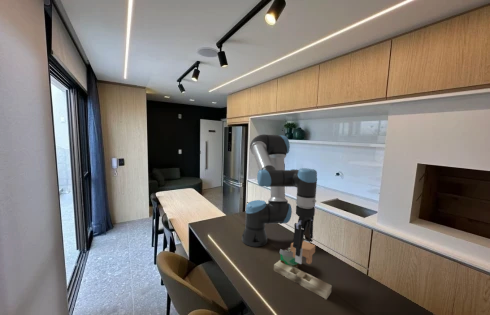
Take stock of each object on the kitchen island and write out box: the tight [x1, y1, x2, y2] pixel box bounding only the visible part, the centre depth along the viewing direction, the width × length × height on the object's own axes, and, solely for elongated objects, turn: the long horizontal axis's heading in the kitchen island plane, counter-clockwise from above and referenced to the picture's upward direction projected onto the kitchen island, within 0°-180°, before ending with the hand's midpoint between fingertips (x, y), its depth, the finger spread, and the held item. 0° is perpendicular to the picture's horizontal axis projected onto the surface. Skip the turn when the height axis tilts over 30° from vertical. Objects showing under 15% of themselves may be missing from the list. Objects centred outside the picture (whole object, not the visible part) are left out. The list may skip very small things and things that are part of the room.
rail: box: [273, 259, 333, 300], centre depth 86 cm, size 24×5×3 cm, turn 48°
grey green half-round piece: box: [278, 246, 300, 269], centre depth 95 cm, size 12×6×10 cm, turn 123°
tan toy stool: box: [290, 240, 316, 265], centre depth 85 cm, size 8×6×6 cm
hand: (302, 258), depth 85 cm, fingers closed on tan toy stool, 7 cm apart
